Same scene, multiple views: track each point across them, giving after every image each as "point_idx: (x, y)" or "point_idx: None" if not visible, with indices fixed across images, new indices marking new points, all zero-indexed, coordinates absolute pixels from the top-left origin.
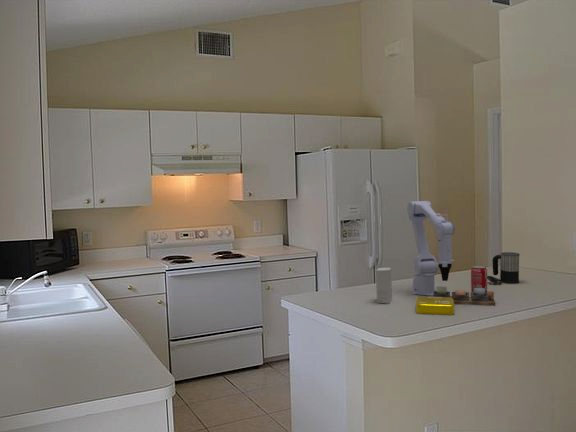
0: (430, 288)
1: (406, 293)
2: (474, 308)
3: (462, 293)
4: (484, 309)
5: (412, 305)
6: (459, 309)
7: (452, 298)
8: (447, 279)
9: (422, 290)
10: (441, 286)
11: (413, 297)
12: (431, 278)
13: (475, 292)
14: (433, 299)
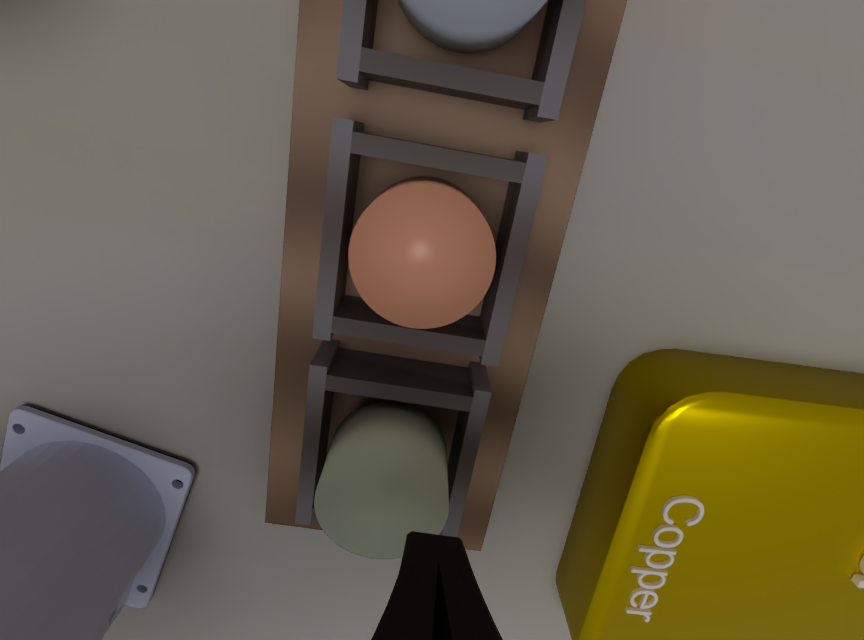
0: (118, 524)
1: (128, 635)
2: (756, 137)
3: (494, 242)
4: (829, 20)
5: (563, 631)
6: (765, 306)
7: (721, 401)
8: (466, 556)
9: (139, 569)
10: (317, 500)
11: (276, 603)
12: (18, 621)
13: (508, 34)
14: (741, 580)
